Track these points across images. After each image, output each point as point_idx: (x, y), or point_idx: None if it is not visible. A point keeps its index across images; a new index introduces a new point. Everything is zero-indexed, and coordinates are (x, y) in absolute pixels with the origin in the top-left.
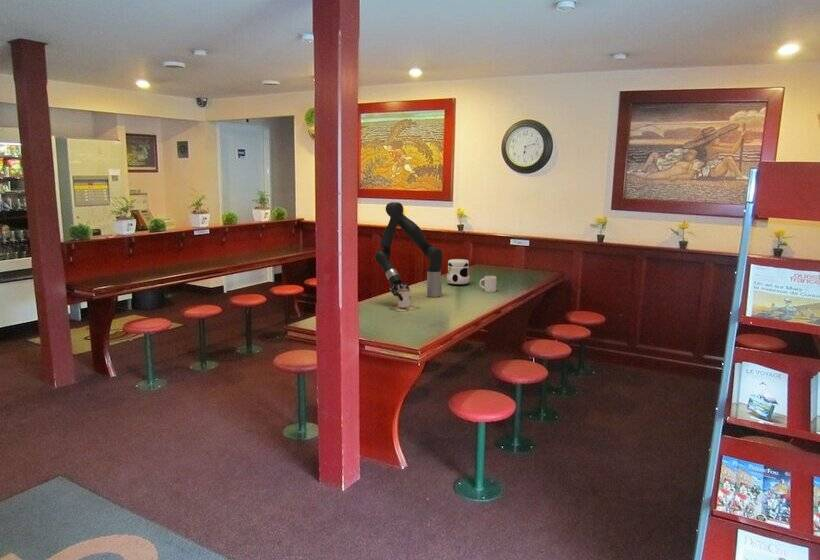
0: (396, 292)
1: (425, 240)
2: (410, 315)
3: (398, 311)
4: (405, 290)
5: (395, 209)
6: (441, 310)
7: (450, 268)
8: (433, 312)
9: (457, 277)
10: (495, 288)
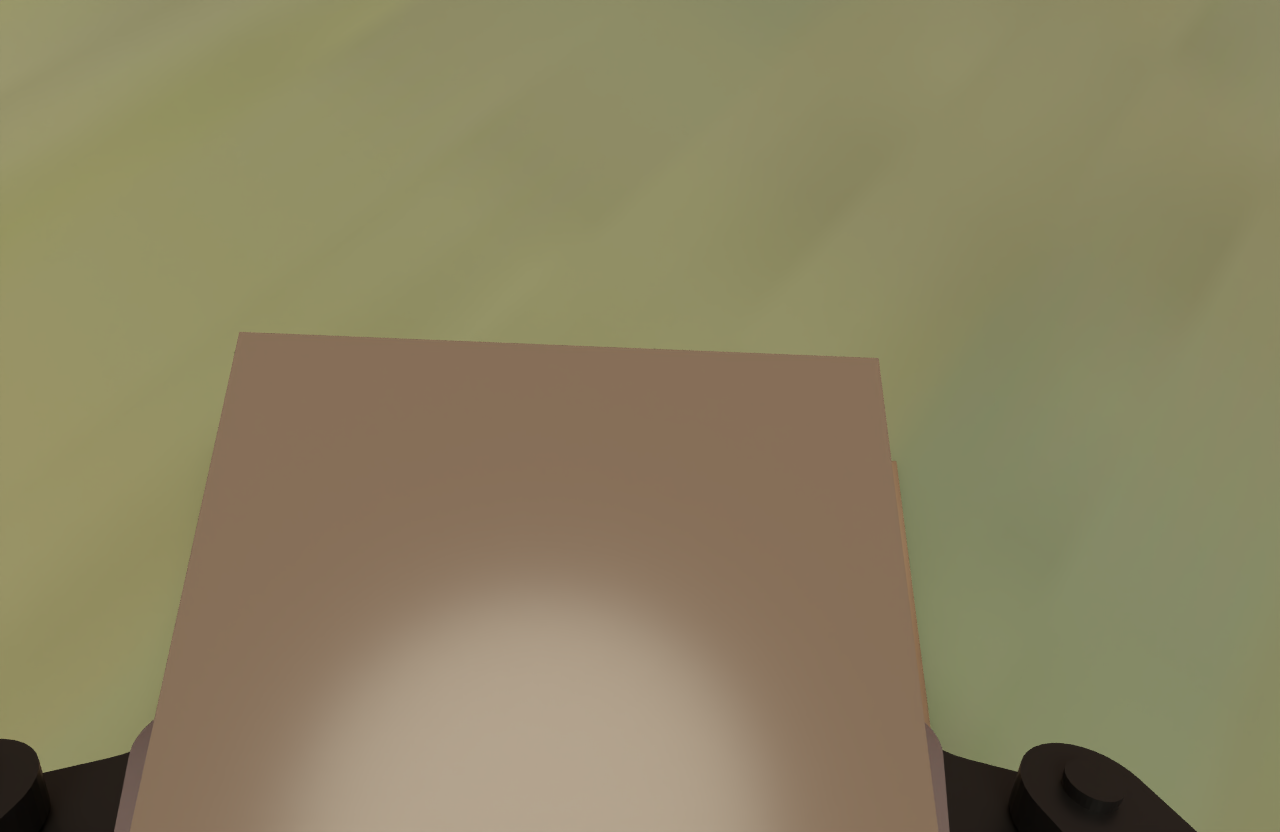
0: (1104, 802)
1: None
2: (850, 134)
3: (900, 508)
4: (652, 359)
5: None
6: (80, 16)
7: None
8: (337, 17)
9: None
10: None
